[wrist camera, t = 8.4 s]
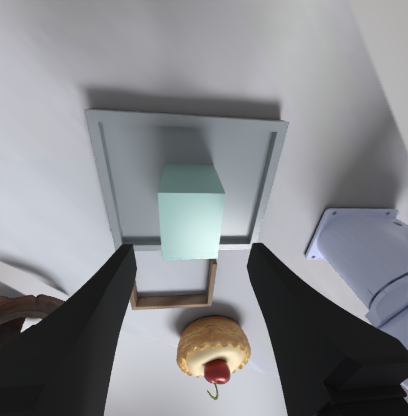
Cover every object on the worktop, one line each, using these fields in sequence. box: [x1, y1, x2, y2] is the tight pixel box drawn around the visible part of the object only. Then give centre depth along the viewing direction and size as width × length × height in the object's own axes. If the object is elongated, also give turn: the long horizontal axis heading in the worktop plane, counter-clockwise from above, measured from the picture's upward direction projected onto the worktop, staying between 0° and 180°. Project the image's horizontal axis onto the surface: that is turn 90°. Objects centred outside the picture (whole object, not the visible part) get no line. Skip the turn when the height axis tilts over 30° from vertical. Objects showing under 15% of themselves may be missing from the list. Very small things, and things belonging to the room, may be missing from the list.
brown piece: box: [0, 294, 65, 348], centre depth 25 cm, size 12×10×8 cm
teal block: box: [158, 164, 226, 260], centre depth 17 cm, size 4×6×6 cm
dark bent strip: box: [130, 259, 217, 310], centre depth 26 cm, size 11×9×2 cm
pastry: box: [177, 316, 251, 400], centre depth 31 cm, size 12×12×9 cm
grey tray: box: [84, 108, 289, 251], centre depth 19 cm, size 16×14×2 cm
